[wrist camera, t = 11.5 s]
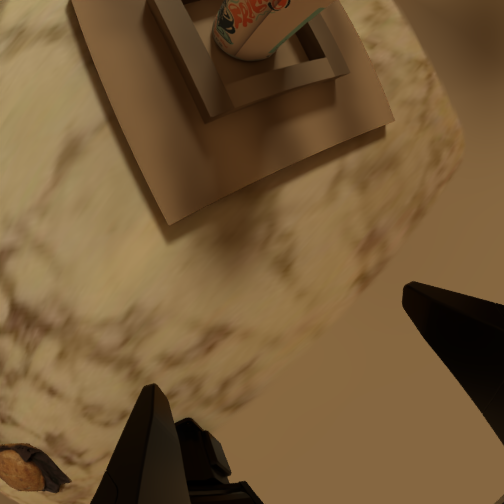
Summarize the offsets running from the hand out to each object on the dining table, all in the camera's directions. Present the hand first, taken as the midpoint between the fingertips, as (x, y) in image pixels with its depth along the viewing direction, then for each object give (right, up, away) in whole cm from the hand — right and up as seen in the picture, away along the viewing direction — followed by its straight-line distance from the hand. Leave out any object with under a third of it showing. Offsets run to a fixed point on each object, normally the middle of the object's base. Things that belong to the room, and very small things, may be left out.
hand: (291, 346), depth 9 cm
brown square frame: (-2, +18, +8) cm, 20 cm away
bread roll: (-27, -21, +10) cm, 35 cm away
